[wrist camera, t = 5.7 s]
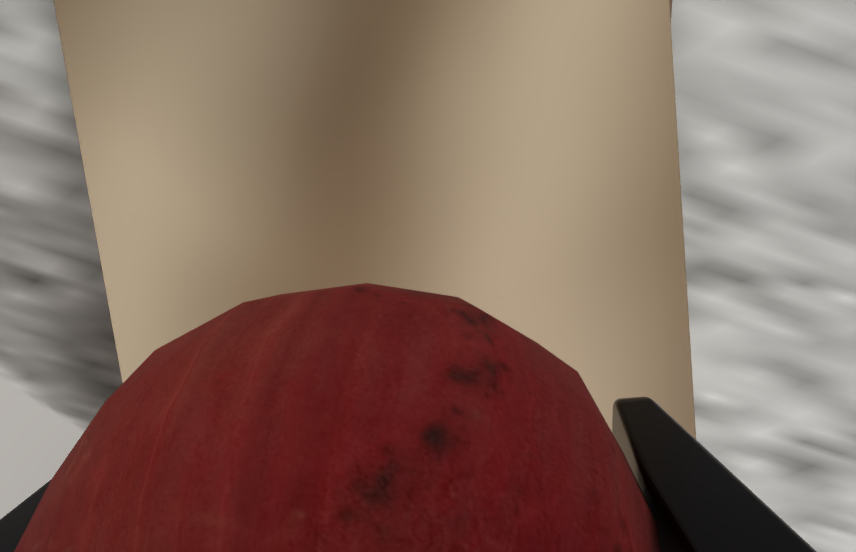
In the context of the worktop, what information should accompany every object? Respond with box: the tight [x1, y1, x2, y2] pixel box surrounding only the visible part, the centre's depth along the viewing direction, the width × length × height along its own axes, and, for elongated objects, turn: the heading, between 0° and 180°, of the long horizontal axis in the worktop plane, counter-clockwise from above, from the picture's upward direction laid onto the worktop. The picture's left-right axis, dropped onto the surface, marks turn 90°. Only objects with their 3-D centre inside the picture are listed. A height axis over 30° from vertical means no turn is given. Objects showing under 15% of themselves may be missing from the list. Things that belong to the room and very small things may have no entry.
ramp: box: [54, 0, 696, 439], centre depth 12 cm, size 10×11×6 cm
